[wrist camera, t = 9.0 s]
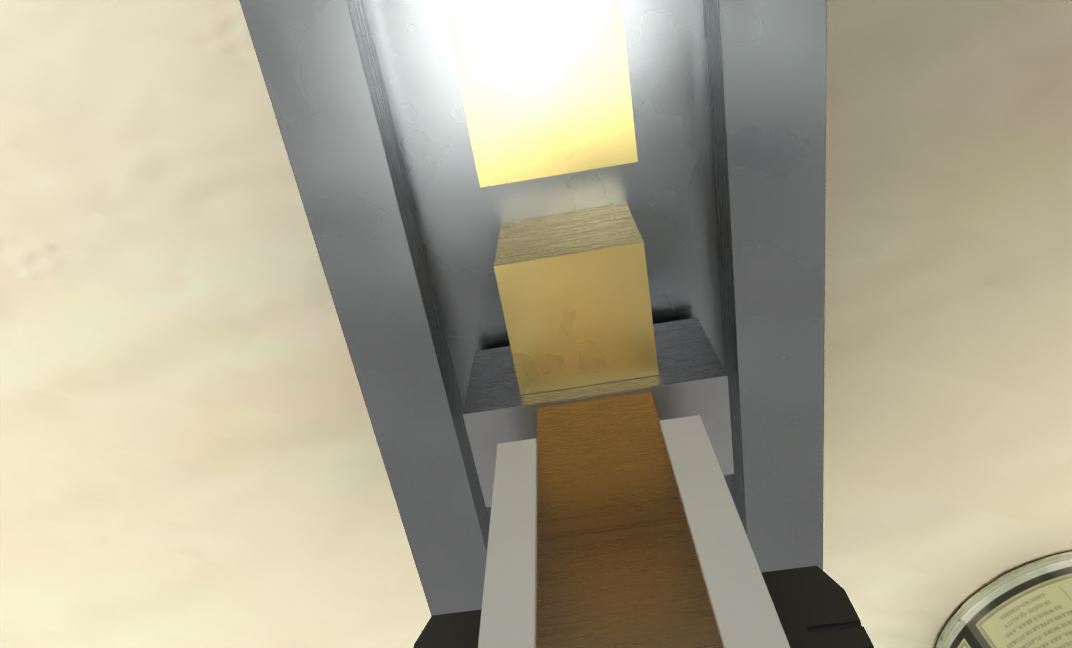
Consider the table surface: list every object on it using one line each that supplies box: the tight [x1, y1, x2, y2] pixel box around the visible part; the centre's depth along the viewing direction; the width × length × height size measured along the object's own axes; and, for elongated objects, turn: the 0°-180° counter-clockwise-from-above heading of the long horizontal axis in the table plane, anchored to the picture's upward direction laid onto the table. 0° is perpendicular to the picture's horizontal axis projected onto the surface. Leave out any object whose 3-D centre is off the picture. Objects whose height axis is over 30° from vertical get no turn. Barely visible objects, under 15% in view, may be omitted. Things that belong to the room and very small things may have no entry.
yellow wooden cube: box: [446, 0, 638, 188], centre depth 14 cm, size 3×3×3 cm
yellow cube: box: [494, 203, 659, 395], centre depth 16 cm, size 3×3×3 cm
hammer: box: [463, 317, 734, 648], centre depth 12 cm, size 6×2×12 cm, turn 100°
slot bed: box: [240, 0, 827, 615], centre depth 18 cm, size 12×20×6 cm, turn 9°
